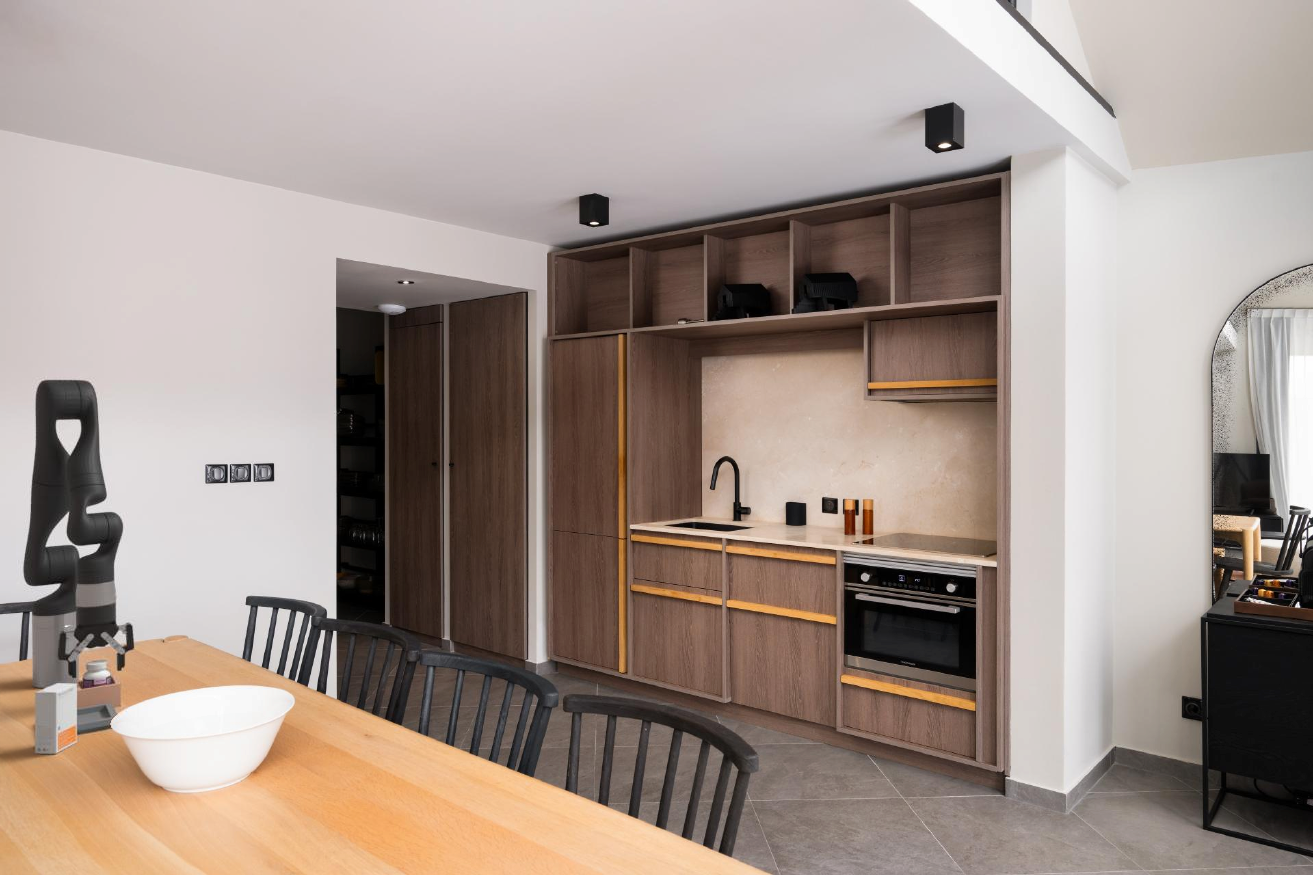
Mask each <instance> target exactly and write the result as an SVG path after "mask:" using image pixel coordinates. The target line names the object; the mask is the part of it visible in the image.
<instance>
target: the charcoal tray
mask: <svg viewBox="0 0 1313 875" xmlns="http://www.w3.org/2000/svg"><path fill="white" fill-rule="evenodd" d="M116 715H118V713H117V711H116V708H115V707H113V704H112V702H111V703H105V704H99V705H93V706H88V707H82V708H77V736H78V735H84V734H89V733H93V732H94V733H95V732H99V731H104V730H109V729H110V730H111V729H112V728H111V725H110V723H111V720H112V719H113V718H114V717H115V716H116Z"/></svg>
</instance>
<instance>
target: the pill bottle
mask: <svg viewBox="0 0 1313 875" xmlns="http://www.w3.org/2000/svg"><path fill="white" fill-rule="evenodd" d="M85 669H86V672H84V673H83V675H82V680H83V689H85V688H91V687H97V686H104V685H110V684H111V676H112V673H111V670H110V669H108V660H106V659H98V660H97V659H96V660H92V661H89V662H86V664H85Z"/></svg>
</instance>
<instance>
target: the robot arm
mask: <svg viewBox="0 0 1313 875" xmlns="http://www.w3.org/2000/svg"><path fill="white" fill-rule="evenodd" d="M34 404H35V411H34V412H35V449H34V458H33V459H34V460H33V470H32V475H31V476H32V478H31V486H30V488H31V490H30V491H31V492H30V513H29V514H30V515H29V527H28V533H27V538H26V545H25V551H24V552H25V553H24V558H23V569H22V570H23V579H24V581H25V583H26V585H28V586H30V587H41V586H42V587H43V586H50V585H51V586H52V585H59V587H58V588H57V589H55V591H53V592H51V593H50V594H47V595H45V596H44V597H42V598H39V599H36V600H35V601H34V602H33V603H32V605H31V639H32V640H31V645H32V650H31V651H32V652H31V653H32V656H31V658H32V686H33V687H34V688H40V689H41V688H42V689H45V688H47V687H49V686H52V685H55V684H57V683H72V684H74V682H75V681H79V679H80V666H79V665H80V658H79V657H80V654H81V653H82V652H83V651H84V649H85V648H86V649H88V650H89V649H94V648H105V647H106V646H108V645H109V646H111V647H112V648H113V649H114V650H115V651H116V652H117V653H116V670H117V672H121V671H123V670H122V669H124V668H125V666H126V653H127V652H130V651H133V650H134V649H135V640H134V639H135V638H134V628H133V624H132V623H130V622H126V623H125V624H120V625H118V624H117V590H116V584H115V562H116V561H115V560H116V557H117V553H118V549H119V546H120V542H121V540H122V536H123V532H124V522H123V520H122V518H121V516H120V515H119V514H118V513H116V512H113V511H103V512H93V513H87V508H89V507H92V506H96V505H99V504H101V503H103V502H104V501H105V500H107V497H108V493H107V488H106V487H107V486H106V483H105V479H104V478H105V477H104V473H103V468H102V462H101V452H100V446H101V445H100V426H99V423H100V422H99V407H98V405H99V404H98V397H97V393H96V390H95V387H94V386H93V384H92V383H91V382H90V381H89V380H85V379H84V380H83V379H44V380H41V381H40V382H39V384H38V385H37V388H36V392H35V403H34ZM65 420H66V421H67V420H72V421H73V420H75V421H77V420H79V421H80V434H79V437H78V439H77V442H76V444H75V446H74V448H73V450H72V452H71V453H69V452H68V450H67V449H66V448H65V447H64V445H63V444H62V441H60V438H59V436H58V432H57V421H65ZM67 514H68V516H67V517H68V518H67V523H66V532H65V533H66V537H67V539H68V540H69V542H70V543H72V544H73V545H72V544H62V545H52V546H47V544H48V543H47V542H48V540H49V538H50V537H51V534H52V532H53V531H54V529H55V528H56V527H57V526H58V525H59V523H60V522H61V520H63V519H64V518H65V517H66V515H67ZM93 545H94V546H95V545H99V546H98V548H97V550H96V551H94V552H92V553H90V554H88V555H84V556H81V557H80V552H79V549H78V548H77V547H86V546H93ZM119 631H121V632H122V634H123V635H125V641H126V644H125V645H123V646H122V645H121V644H120V643H119V642H118V641H117V640H116V639H115V636H116V635H117V634H118V632H119Z"/></svg>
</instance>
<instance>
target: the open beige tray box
mask: <svg viewBox="0 0 1313 875" xmlns="http://www.w3.org/2000/svg"><path fill="white" fill-rule="evenodd" d="M73 684H77V708H82V707H88V706H93V705H99V704H105V703H111V702H112V704H113V707H114V708H116V707H121V706H122V705H121V704H122V703H121V702H122V700H121V695H122V694H121V691H122V690H121V687H122V686H121V682H120V680H119V679H118V676H117V675H115V674H114V675H111V684H110V685H104V686H97V687H91V688H85V689H83V679H82V680H77V681H75V682H73Z"/></svg>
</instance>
